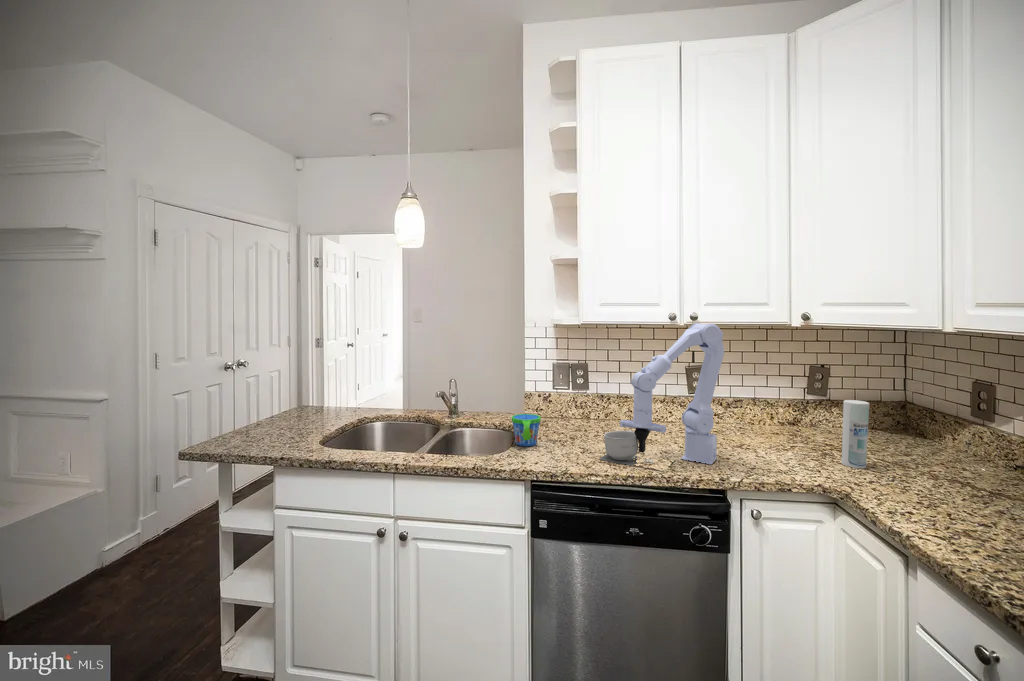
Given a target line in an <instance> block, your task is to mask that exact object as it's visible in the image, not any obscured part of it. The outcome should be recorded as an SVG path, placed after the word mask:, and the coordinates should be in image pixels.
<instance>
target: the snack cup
mask: <svg viewBox="0 0 1024 681" xmlns="http://www.w3.org/2000/svg"><path fill="white" fill-rule="evenodd" d="M541 420H542V417H541V416H540V415H538V414H534V413H533V414H532V413H520V414H518V413H517V414H514V415H512V416H511V422H512V426H513V427H512V428H513V433H514V439H515V443H516V445H517V446H520V447H532V446H536V445H537V442H538V436H539V432H540V431H539V429H540V424H541V422H542V421H541Z"/></svg>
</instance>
